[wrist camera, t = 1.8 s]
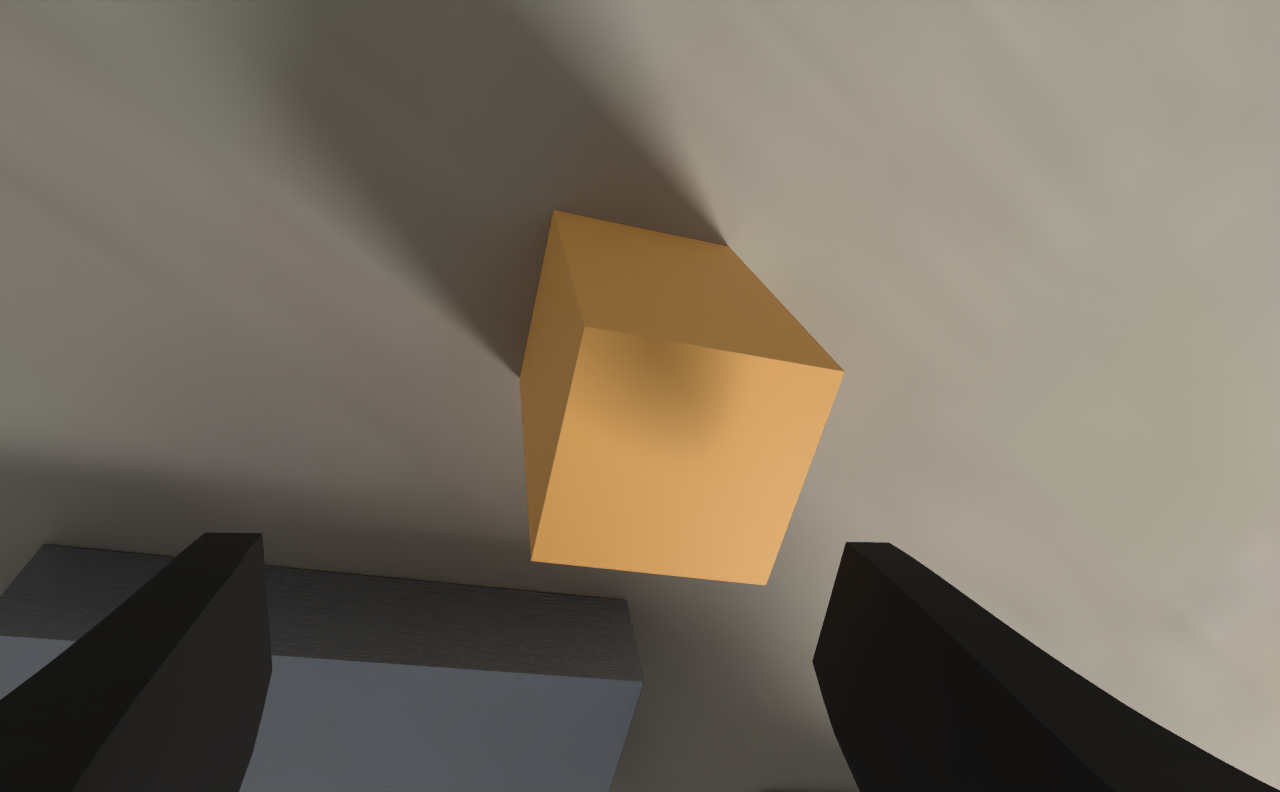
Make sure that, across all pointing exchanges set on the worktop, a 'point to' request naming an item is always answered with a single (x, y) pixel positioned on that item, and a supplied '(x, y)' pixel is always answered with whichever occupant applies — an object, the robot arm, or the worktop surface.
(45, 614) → the grey square-hole board
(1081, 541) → the worktop surface
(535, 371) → the block
